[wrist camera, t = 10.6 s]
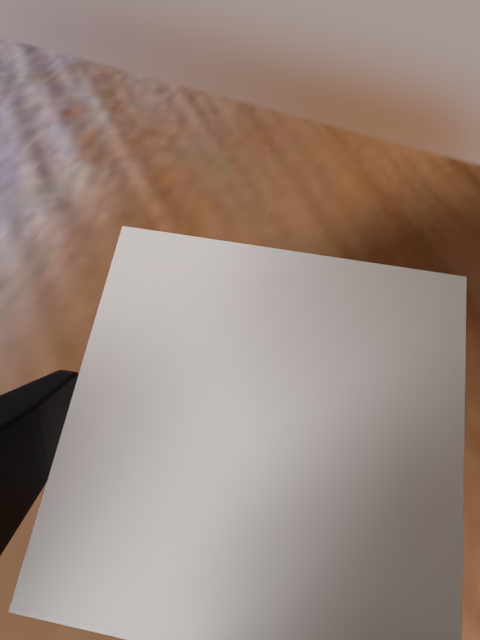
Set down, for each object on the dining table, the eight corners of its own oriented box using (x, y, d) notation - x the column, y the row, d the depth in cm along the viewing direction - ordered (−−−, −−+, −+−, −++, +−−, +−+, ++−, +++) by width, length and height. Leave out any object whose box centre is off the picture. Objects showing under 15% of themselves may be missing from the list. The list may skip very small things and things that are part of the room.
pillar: (301, 500, 15) (460, 717, 4) (188, 477, 16) (8, 611, 4) (315, 385, 16) (467, 276, 5) (210, 367, 17) (123, 226, 5)
